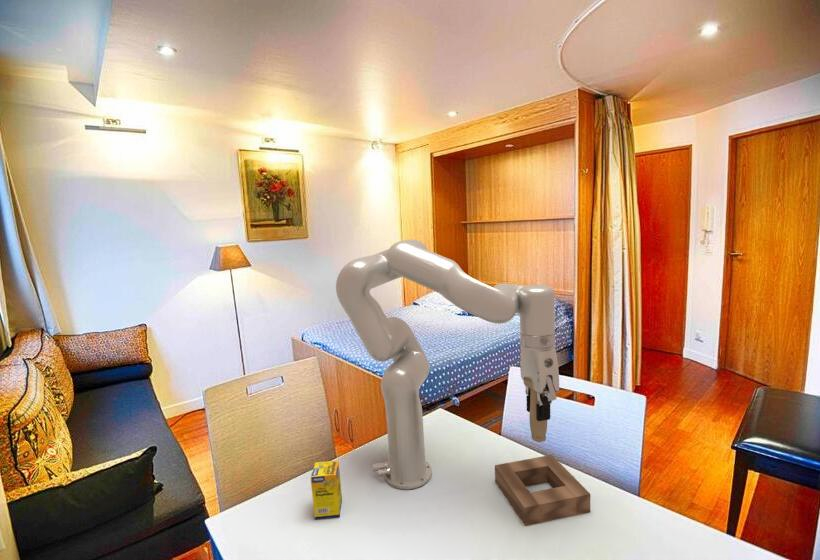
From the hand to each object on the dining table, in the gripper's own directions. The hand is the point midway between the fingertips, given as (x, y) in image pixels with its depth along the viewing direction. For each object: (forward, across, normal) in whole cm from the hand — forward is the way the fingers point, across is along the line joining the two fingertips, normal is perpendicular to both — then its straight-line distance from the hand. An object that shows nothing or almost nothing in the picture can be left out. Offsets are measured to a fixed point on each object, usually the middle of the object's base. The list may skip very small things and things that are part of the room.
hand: (538, 414), depth 95 cm
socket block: (+21, 0, 0) cm, 21 cm away
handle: (+6, 0, 0) cm, 6 cm away
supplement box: (+21, +9, +50) cm, 55 cm away
